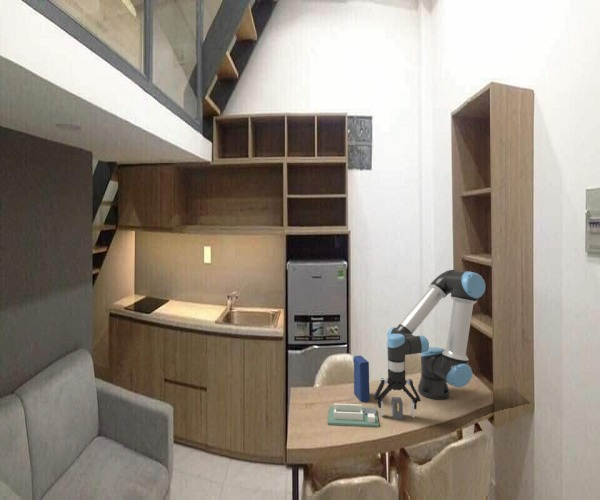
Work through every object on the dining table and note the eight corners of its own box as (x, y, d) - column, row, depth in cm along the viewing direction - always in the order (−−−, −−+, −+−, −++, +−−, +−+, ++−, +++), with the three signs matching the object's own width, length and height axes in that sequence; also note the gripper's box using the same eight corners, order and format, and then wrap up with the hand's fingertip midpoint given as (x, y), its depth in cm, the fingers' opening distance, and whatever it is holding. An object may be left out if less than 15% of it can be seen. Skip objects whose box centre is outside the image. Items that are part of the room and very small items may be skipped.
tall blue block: (370, 401, 165) (369, 361, 165) (360, 402, 164) (360, 362, 163) (362, 392, 175) (361, 355, 174) (353, 393, 173) (352, 356, 173)
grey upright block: (400, 414, 153) (400, 397, 152) (403, 421, 147) (402, 403, 146) (392, 413, 153) (391, 396, 153) (393, 421, 147) (393, 403, 147)
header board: (376, 410, 157) (375, 401, 157) (379, 427, 143) (378, 418, 143) (329, 408, 160) (329, 400, 160) (327, 424, 146) (327, 415, 146)
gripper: (423, 366, 152) (423, 411, 153) (367, 365, 155) (368, 409, 156) (427, 373, 144) (428, 420, 145) (368, 371, 148) (369, 418, 148)
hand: (397, 415), depth 151 cm, fingers open, 13 cm apart
